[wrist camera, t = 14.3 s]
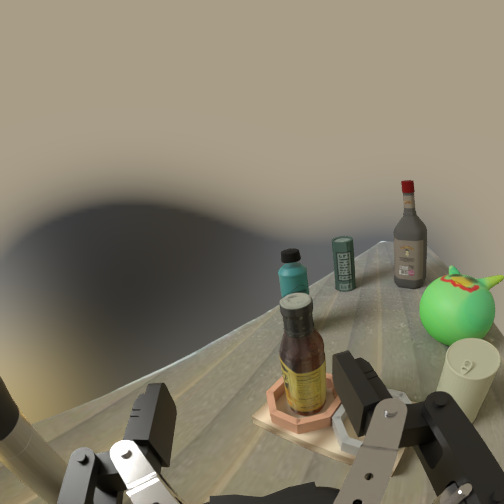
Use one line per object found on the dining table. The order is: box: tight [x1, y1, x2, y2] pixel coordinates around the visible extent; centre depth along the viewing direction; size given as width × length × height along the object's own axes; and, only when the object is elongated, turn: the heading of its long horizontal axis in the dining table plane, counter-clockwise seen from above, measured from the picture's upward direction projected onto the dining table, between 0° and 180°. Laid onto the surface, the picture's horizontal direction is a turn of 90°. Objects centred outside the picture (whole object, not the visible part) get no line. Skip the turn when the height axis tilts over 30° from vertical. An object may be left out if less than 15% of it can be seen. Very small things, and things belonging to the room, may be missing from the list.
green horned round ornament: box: [420, 265, 504, 346], centre depth 44 cm, size 18×17×15 cm
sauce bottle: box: [279, 293, 327, 416], centre depth 36 cm, size 6×6×20 cm
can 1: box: [332, 236, 356, 292], centre depth 79 cm, size 6×6×15 cm
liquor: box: [394, 180, 427, 289], centre depth 70 cm, size 9×9×30 cm
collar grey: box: [332, 388, 412, 456], centre depth 31 cm, size 12×12×2 cm
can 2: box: [436, 338, 501, 423], centre depth 28 cm, size 9×9×12 cm
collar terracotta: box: [266, 373, 342, 434], centre depth 39 cm, size 12×12×2 cm
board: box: [252, 388, 418, 477], centre depth 35 cm, size 24×13×2 cm, turn 49°
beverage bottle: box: [278, 249, 309, 299], centre depth 61 cm, size 6×7×20 cm
